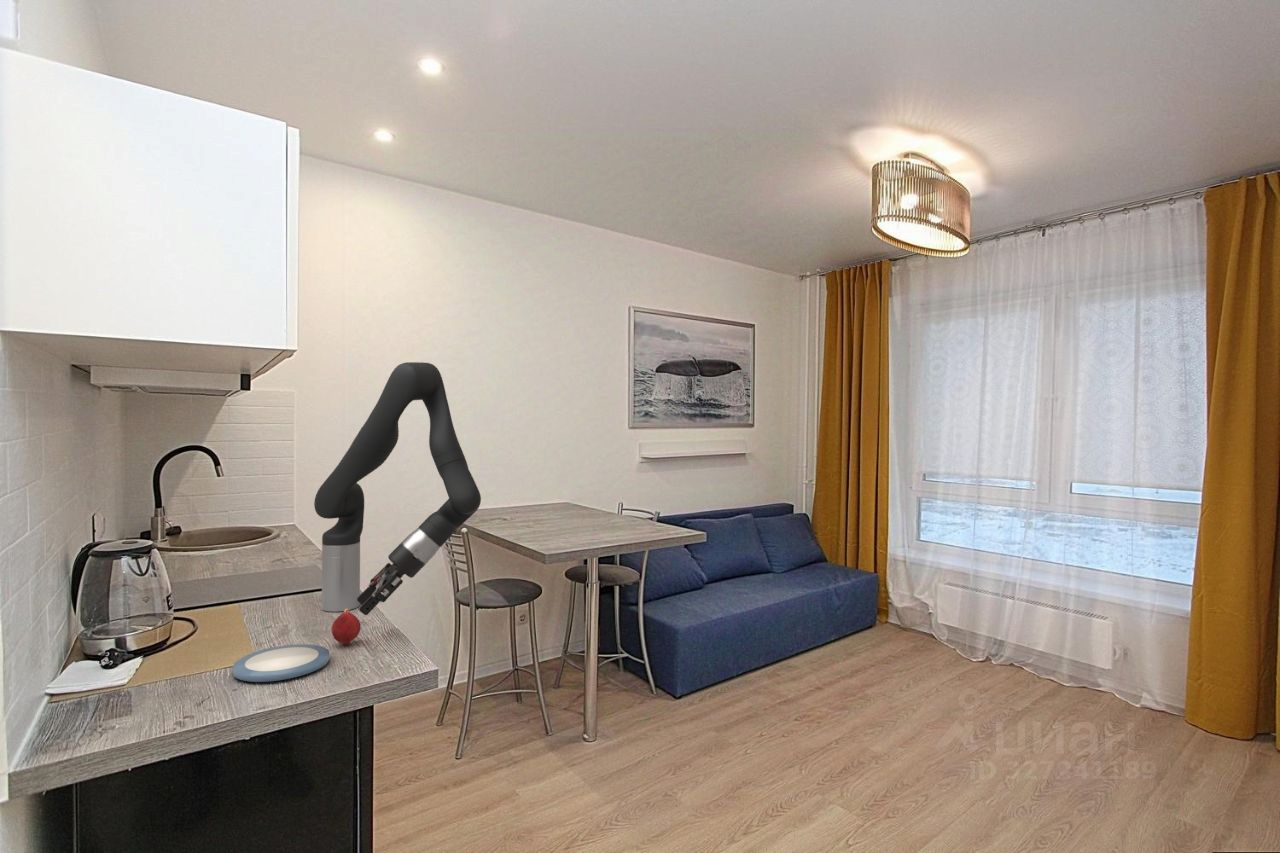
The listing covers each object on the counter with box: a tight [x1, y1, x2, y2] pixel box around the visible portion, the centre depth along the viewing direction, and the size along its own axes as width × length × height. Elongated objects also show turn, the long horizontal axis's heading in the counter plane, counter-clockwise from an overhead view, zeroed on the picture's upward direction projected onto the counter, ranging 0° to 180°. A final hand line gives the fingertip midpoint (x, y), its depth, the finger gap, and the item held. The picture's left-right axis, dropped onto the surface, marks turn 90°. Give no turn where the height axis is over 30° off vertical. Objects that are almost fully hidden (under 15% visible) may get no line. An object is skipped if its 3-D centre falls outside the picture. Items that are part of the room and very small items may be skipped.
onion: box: [331, 609, 361, 646], centre depth 144 cm, size 6×6×8 cm
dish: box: [232, 643, 330, 683], centre depth 130 cm, size 17×17×2 cm
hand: (360, 607), depth 145 cm, fingers open, 8 cm apart
